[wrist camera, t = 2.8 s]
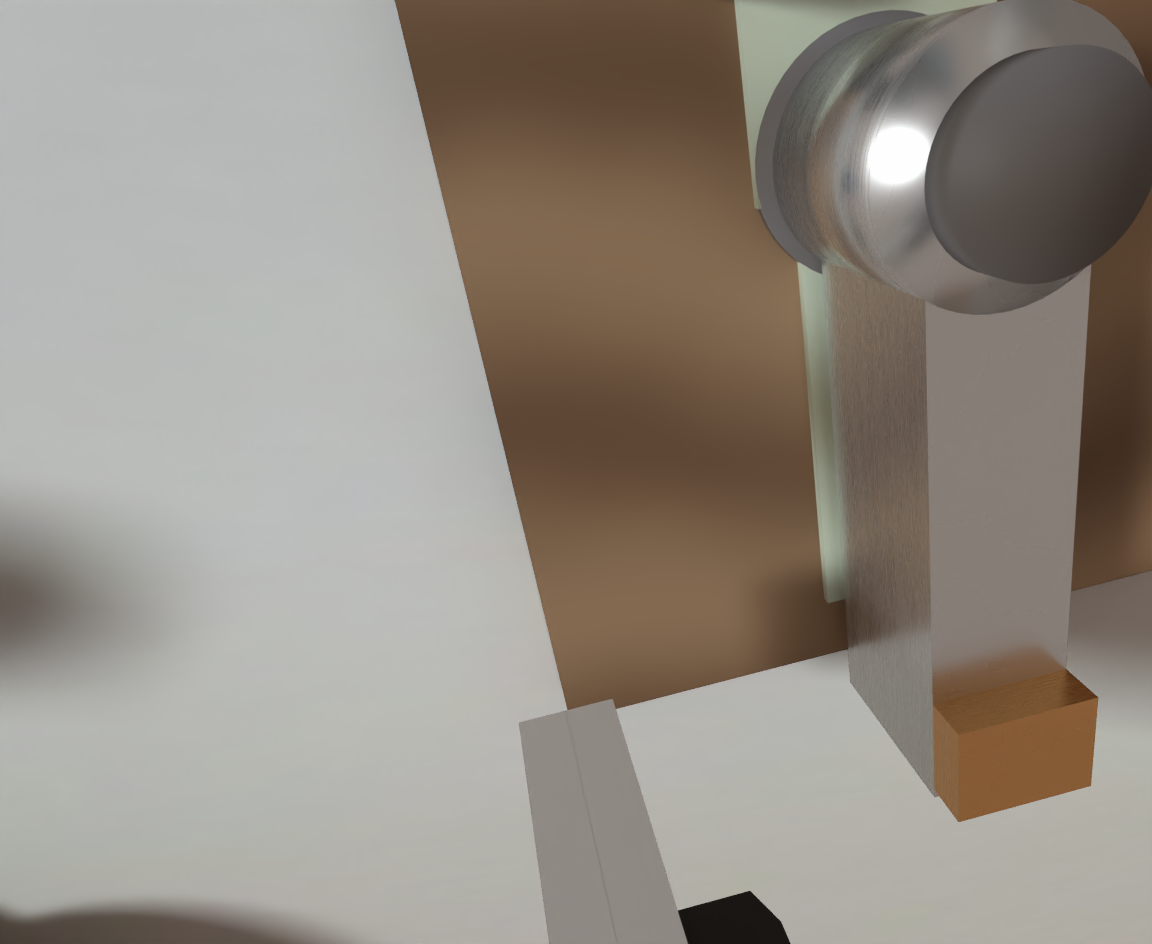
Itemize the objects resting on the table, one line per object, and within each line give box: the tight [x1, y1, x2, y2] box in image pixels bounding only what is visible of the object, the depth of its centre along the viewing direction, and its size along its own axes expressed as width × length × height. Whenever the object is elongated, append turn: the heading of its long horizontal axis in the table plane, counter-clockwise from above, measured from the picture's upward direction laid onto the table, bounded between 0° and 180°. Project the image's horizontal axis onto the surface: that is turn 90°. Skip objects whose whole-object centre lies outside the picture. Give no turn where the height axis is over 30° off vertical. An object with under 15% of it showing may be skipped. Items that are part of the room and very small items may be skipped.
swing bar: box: [773, 0, 1145, 822], centre depth 14 cm, size 13×4×4 cm, turn 11°
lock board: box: [395, 0, 1152, 710], centre depth 13 cm, size 24×15×6 cm, turn 11°
